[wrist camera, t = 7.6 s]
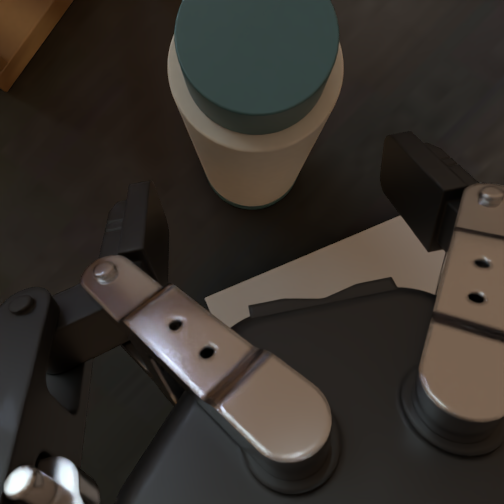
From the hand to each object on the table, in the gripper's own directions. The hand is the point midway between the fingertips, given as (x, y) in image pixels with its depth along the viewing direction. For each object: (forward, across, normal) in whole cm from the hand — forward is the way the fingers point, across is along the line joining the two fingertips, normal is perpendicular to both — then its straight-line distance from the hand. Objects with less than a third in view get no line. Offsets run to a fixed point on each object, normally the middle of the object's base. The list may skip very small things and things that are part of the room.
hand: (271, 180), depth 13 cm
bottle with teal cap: (+8, 0, +4) cm, 9 cm away
